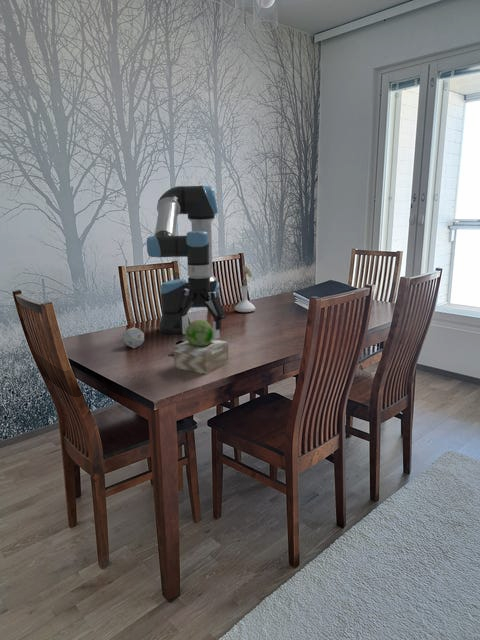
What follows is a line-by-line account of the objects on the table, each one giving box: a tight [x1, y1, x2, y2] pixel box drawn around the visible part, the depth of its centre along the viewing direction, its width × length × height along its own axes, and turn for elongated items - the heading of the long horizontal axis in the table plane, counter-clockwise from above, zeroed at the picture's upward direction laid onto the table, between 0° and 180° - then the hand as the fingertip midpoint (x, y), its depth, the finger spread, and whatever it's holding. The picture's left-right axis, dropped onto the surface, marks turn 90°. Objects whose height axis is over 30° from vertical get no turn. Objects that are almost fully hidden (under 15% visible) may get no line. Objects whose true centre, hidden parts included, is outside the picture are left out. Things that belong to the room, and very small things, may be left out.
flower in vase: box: [234, 265, 256, 313], centre depth 251 cm, size 13×11×25 cm
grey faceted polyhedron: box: [123, 326, 145, 350], centre depth 191 cm, size 8×9×10 cm
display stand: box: [172, 338, 229, 375], centre depth 167 cm, size 14×14×8 cm
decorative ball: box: [185, 319, 213, 347], centre depth 165 cm, size 10×10×10 cm
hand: (200, 335), depth 166 cm, fingers open, 13 cm apart
